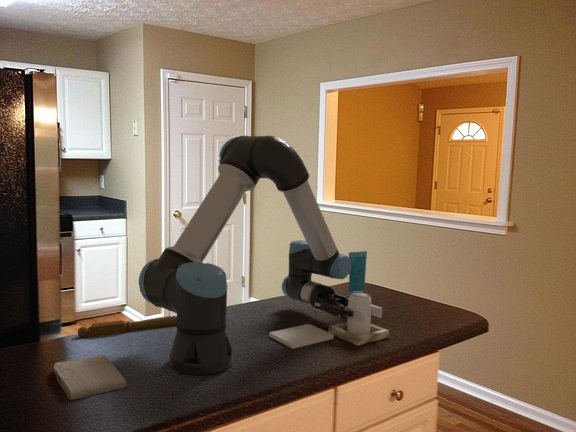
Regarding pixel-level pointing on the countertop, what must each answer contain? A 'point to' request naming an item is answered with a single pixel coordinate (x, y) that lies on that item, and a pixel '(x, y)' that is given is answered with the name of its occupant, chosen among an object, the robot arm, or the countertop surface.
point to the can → (361, 303)
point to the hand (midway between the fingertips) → (372, 314)
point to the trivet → (301, 336)
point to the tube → (357, 271)
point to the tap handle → (124, 326)
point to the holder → (374, 335)
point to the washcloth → (88, 376)
